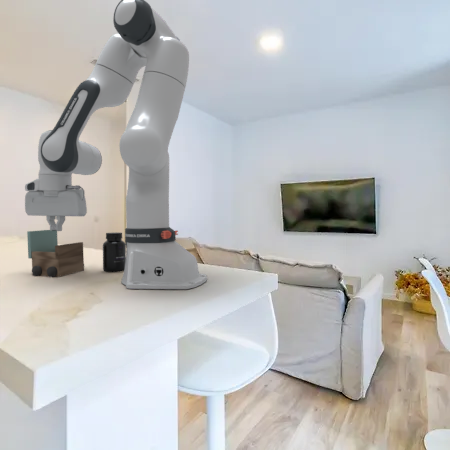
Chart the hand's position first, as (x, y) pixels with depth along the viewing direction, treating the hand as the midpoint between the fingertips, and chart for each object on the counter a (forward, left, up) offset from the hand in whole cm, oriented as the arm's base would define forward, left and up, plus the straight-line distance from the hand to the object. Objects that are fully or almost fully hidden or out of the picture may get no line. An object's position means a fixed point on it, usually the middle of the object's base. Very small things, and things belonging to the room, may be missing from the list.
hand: (56, 231), depth 95 cm
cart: (0, 0, -13) cm, 13 cm away
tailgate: (+5, 0, -8) cm, 9 cm away
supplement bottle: (-15, -7, -13) cm, 21 cm away
